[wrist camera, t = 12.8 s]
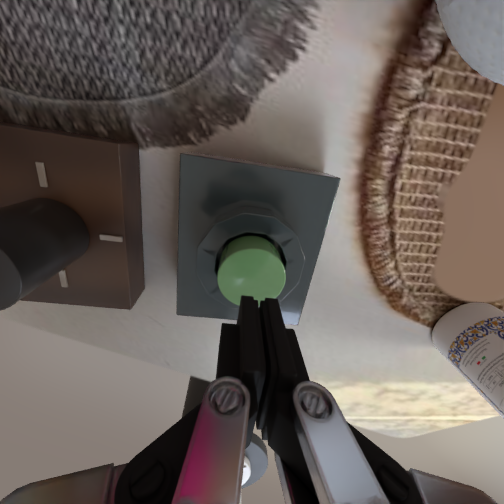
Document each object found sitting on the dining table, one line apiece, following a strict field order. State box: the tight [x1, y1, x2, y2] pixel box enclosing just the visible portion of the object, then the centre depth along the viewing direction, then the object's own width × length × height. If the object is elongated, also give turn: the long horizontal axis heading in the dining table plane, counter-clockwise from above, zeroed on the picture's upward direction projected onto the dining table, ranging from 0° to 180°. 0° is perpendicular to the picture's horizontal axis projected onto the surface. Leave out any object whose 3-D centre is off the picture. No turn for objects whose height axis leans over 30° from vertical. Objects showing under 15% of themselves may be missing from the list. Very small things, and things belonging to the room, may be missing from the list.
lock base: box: [0, 122, 145, 310], centre depth 17 cm, size 12×9×3 cm
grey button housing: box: [176, 152, 340, 325], centre depth 17 cm, size 12×10×5 cm
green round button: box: [217, 236, 286, 306], centre depth 15 cm, size 4×4×2 cm
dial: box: [0, 198, 89, 310], centre depth 13 cm, size 4×4×6 cm
